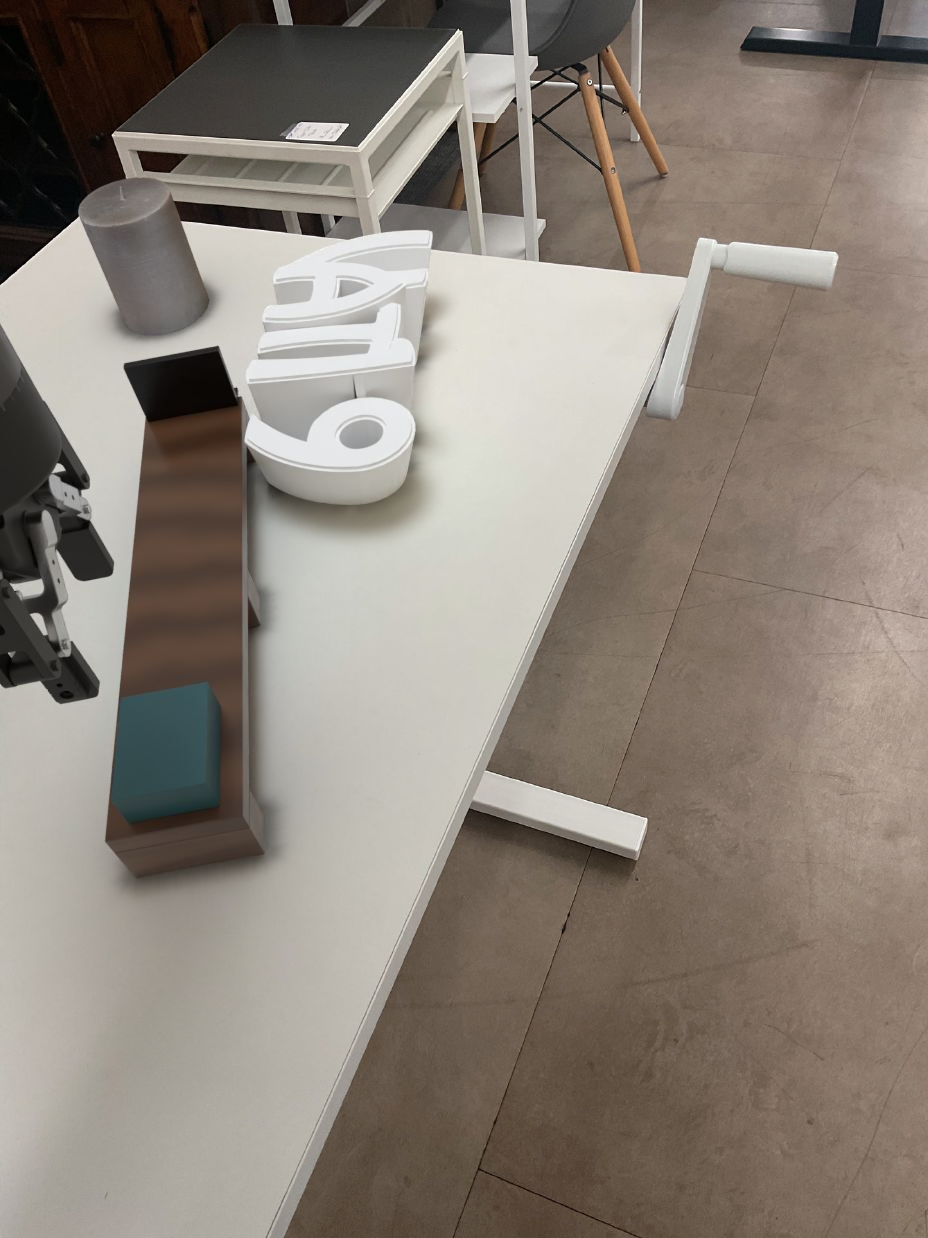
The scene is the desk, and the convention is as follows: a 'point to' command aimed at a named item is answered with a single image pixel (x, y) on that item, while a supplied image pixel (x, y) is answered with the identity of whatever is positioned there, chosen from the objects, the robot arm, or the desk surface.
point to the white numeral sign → (341, 369)
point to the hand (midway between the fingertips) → (89, 632)
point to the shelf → (193, 626)
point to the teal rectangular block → (167, 753)
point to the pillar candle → (144, 255)
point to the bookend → (182, 383)
